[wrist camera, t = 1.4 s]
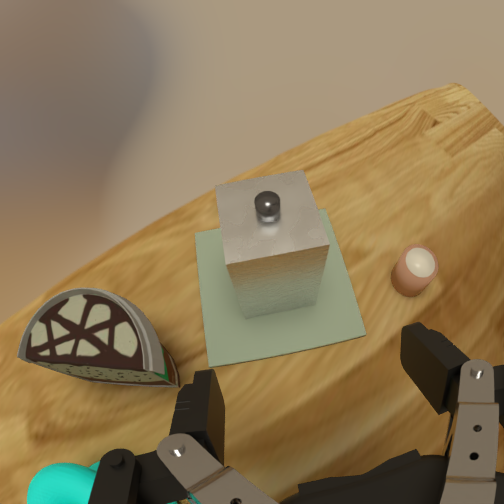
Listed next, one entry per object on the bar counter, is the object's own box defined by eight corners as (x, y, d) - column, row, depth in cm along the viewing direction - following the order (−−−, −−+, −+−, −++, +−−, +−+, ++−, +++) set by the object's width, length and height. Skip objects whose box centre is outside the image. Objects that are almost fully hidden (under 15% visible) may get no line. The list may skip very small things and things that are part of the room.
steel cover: (299, 245, 31) (303, 157, 21) (315, 305, 28) (332, 233, 18) (235, 257, 31) (211, 174, 21) (245, 319, 28) (222, 254, 18)
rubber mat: (324, 210, 34) (325, 208, 33) (365, 335, 27) (366, 334, 26) (195, 235, 34) (194, 233, 33) (210, 367, 27) (209, 366, 26)
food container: (196, 322, 29) (158, 275, 20) (196, 387, 26) (152, 369, 17) (85, 323, 30) (26, 283, 21) (80, 380, 26) (12, 356, 18)
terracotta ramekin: (411, 256, 30) (422, 237, 27) (431, 285, 28) (445, 269, 25) (383, 272, 30) (394, 254, 26) (404, 303, 28) (417, 288, 25)
